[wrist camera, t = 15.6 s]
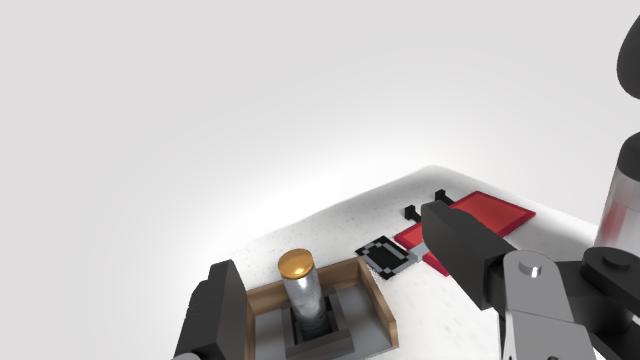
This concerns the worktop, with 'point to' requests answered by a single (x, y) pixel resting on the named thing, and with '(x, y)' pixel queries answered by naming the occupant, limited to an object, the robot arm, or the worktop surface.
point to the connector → (305, 293)
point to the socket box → (344, 313)
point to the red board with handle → (395, 259)
